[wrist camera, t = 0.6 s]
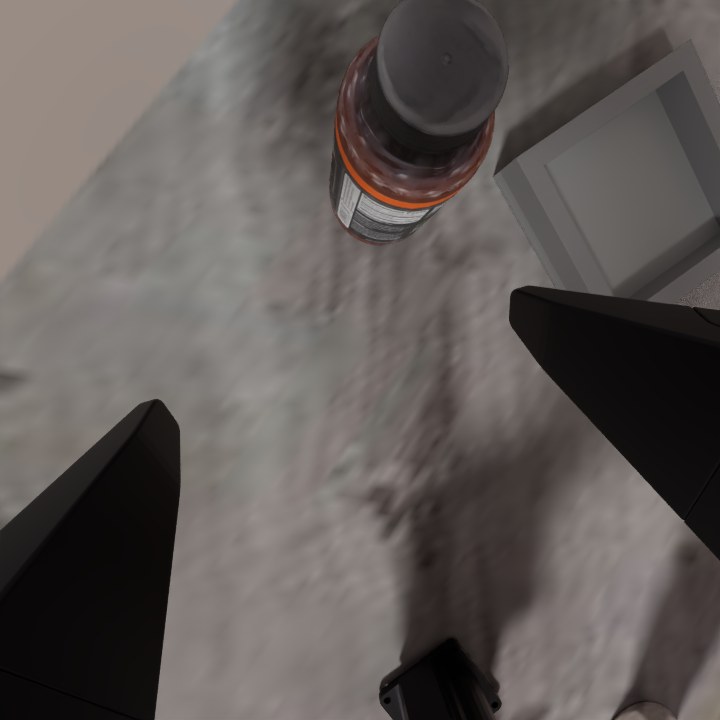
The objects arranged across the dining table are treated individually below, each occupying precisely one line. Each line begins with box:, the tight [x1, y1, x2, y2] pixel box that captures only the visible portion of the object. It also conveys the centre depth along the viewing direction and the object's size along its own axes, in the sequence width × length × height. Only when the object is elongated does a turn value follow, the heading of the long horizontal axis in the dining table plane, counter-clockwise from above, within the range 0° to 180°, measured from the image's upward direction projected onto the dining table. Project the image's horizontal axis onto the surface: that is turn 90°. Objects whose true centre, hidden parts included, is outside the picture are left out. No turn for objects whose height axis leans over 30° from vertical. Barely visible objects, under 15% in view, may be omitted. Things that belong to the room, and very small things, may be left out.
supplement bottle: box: [329, 0, 509, 245], centre depth 16 cm, size 6×6×11 cm
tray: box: [494, 39, 720, 304], centre depth 22 cm, size 12×12×2 cm
